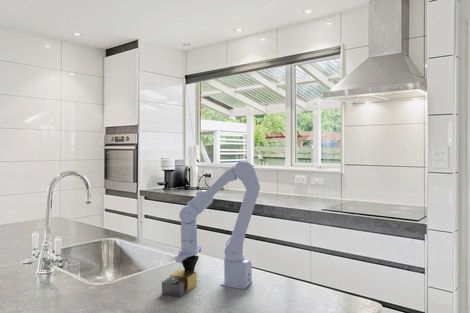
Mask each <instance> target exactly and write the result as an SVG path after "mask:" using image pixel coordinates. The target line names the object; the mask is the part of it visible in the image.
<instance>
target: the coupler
mask: <svg viewBox="0 0 470 313" xmlns="http://www.w3.org/2000/svg"><path fill="white" fill-rule="evenodd" d="M161 295H165V296H170V297H174V298H175V297H176V298H181V297H183V296H185V282H179V278H177V277H171V278H170V277H168V278H167V279H165V280H163V281H161Z"/></svg>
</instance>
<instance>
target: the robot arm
mask: <svg viewBox="0 0 470 313" xmlns="http://www.w3.org/2000/svg"><path fill="white" fill-rule="evenodd" d="M237 179H238V180H240V181H241V182H242V184H243V186H244V187H245V189H246V190H245V193H244V196H243V199H242V202H241V205H240V209H239V211H238V215H237V218H236V221H235V224H234V227H233V231H232V233H231V236H230V237H229V239H228V240H227V241H226V243H225V248H224V257H223V268H224V269H223V271H224V274H223V275H224V280H223V281H222V282H221V283H220V284H219V285H220V286H221V287H229V288H235V289H241V290H246V288H248V286H249V285H250V284H252V283H253V278H252V277H253V276H252V275H253V274H252V272H253V270H252V268H253V267H252V262H251V260H247V259H246V258H245V256H244V251H243V249H244V242H245V237H246V233H247V231H248V227H249V224H250V221H251V218H252V215H253V212H254V209H255V205H256V203H257V198H258V196H259V193H260V188H261V186H260V183H259V179H258V176H257V173H256V169H255V168H254V166H253V165H252V164H251V163H250V162H249V161H247V160H243V159H242V160H239V161H238V162H236V164H235V165H233V166H231V167H230V168H228V169H227V170H226V171H225V172H224V173H222V174H221V175H220V176H219V178H218V179H217V180H216V181H214V183H213V184H212V185H210V187H209V188H208V189H201V191H199V190H198V191H197V192H196V193H195V196H194V197H193V198H192V199H191V200H190V201H189V200H188V202H186V205H185V206H183V207H182V209H181V210H180V211H179V219H180V248H181V249H180V250H178V253H179V254H178V255H176V256H175V262H176V263H178V264H179V263H181V264H182V267H183V270H186V271H193V272H195V268H196V264H197V263H198V260H199V258H200V257H199V256H198V255H197V254H198V253H201V252H202V246H201V245H200V246H199V245H198V226H197V218H198V216H199V215H200V214H202V213H203V212H204V211H205V210H206V209H207V208H208V207H209V206H210V205H211V204H212V203H213V201H214V196H215V195H216V194H217V193H218V192H219V191H221V190H222V189H223V188H224V187H225V186H226V185H227V184H228V183H229V182H234V181H237Z"/></svg>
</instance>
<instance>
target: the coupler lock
mask: <svg viewBox="0 0 470 313" xmlns="http://www.w3.org/2000/svg"><path fill="white" fill-rule="evenodd" d="M171 277H177V278H179V282H185V289H184V292H186V293H188V292H190V291H191V290H193V289H194V288H195V287H197V284H198V282H197V271H194V272H193V271H186V270H185V269H178V270H176V271H175V272H172V273H170V274H169V278H171Z"/></svg>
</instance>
